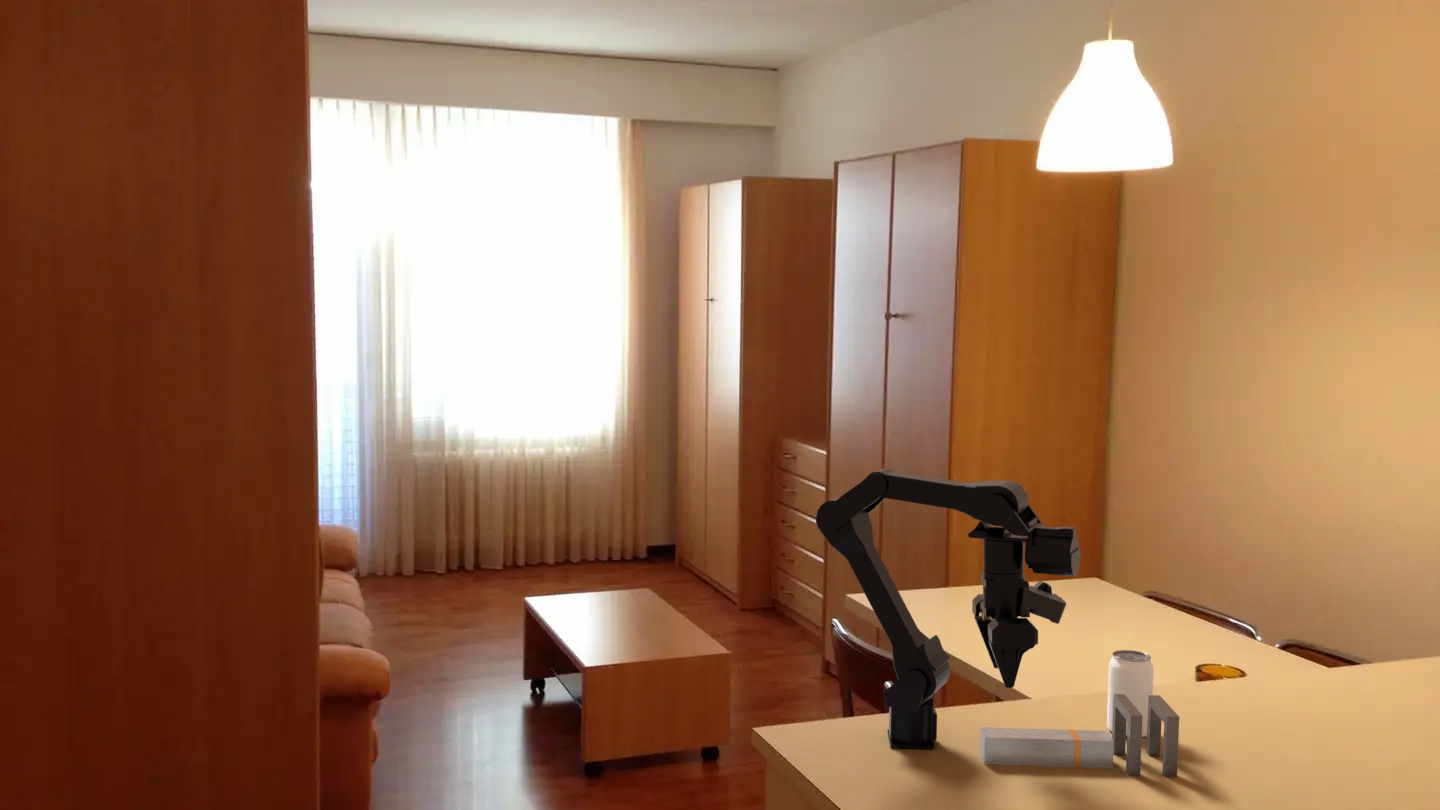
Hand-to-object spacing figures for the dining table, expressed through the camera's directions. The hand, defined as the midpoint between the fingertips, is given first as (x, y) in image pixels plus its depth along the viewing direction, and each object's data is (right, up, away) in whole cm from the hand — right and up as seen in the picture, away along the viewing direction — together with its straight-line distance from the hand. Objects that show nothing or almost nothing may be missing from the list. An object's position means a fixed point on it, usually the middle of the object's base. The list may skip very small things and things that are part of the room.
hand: (1003, 677), depth 170 cm
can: (+22, -11, +13) cm, 28 cm away
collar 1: (+17, -12, 0) cm, 21 cm away
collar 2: (+22, -12, 0) cm, 26 cm away
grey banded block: (+6, -12, +1) cm, 14 cm away
